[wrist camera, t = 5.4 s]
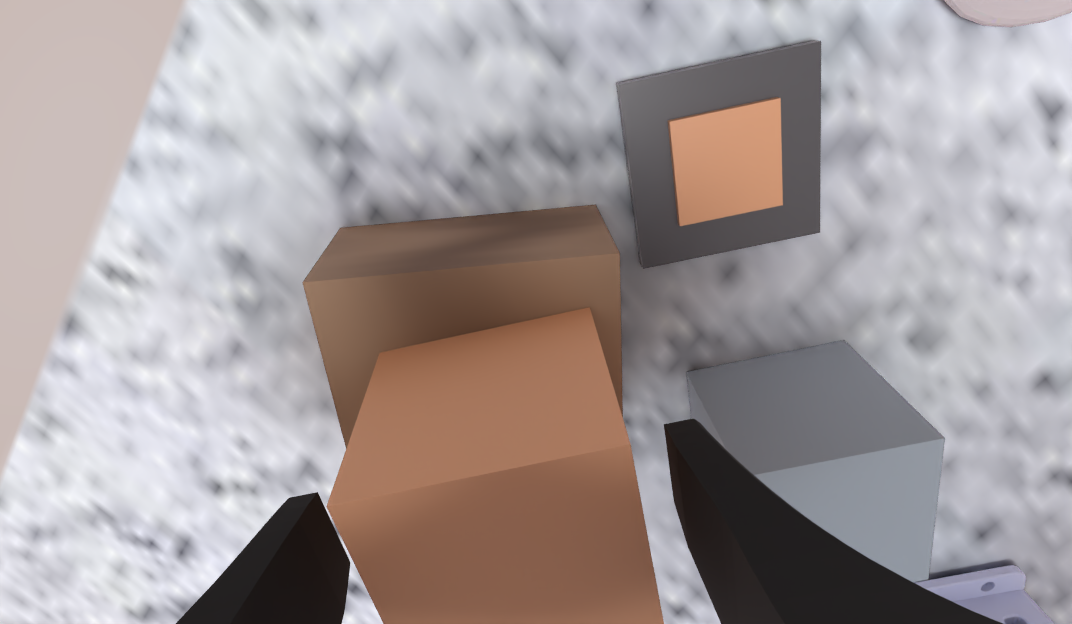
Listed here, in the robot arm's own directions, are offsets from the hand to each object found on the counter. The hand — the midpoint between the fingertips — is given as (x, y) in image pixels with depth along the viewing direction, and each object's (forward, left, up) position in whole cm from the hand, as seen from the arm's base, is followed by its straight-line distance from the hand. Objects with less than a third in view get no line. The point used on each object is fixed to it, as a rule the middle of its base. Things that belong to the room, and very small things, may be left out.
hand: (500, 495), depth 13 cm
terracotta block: (0, 0, -3) cm, 3 cm away
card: (-7, -4, -7) cm, 10 cm away
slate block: (-8, +5, -7) cm, 12 cm away
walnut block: (0, 0, -7) cm, 7 cm away
